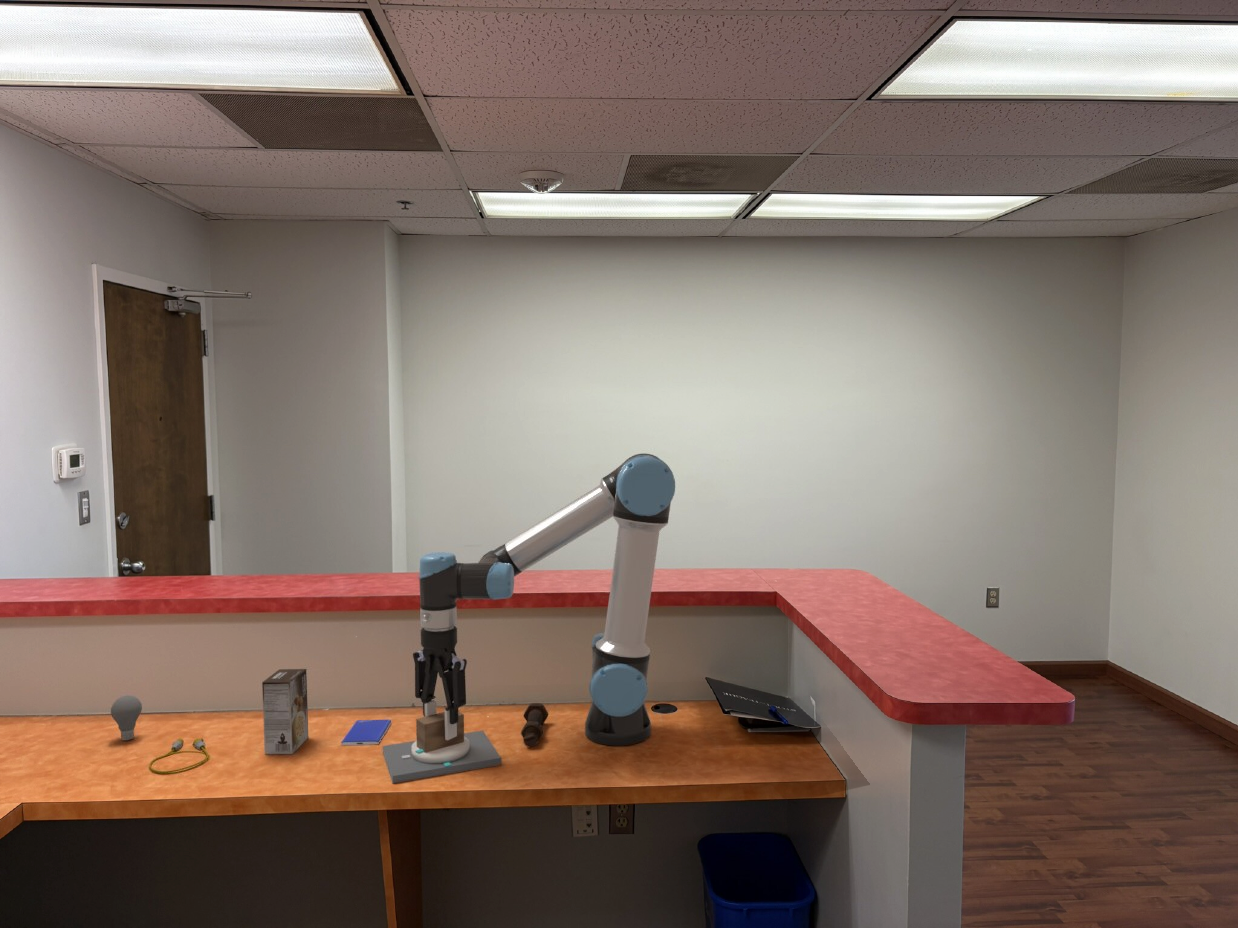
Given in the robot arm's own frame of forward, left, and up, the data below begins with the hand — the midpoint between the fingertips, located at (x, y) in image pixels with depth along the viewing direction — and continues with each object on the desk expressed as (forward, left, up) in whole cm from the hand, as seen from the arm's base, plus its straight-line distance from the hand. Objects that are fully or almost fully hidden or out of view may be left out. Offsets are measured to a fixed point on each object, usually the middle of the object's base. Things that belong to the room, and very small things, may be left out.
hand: (440, 734), depth 173 cm
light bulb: (+63, -38, -5) cm, 74 cm away
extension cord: (+51, -22, -6) cm, 55 cm away
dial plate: (0, 0, -5) cm, 5 cm away
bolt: (-21, -4, -6) cm, 23 cm away
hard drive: (+13, -20, -6) cm, 25 cm away
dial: (0, 0, -4) cm, 4 cm away
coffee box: (+30, -20, -5) cm, 37 cm away
